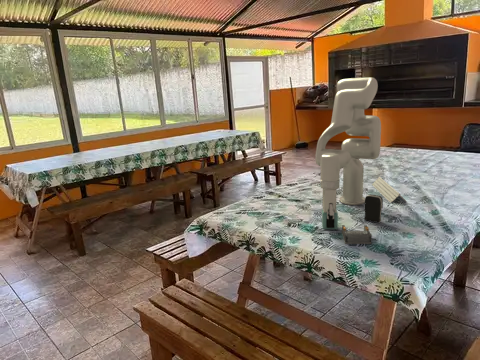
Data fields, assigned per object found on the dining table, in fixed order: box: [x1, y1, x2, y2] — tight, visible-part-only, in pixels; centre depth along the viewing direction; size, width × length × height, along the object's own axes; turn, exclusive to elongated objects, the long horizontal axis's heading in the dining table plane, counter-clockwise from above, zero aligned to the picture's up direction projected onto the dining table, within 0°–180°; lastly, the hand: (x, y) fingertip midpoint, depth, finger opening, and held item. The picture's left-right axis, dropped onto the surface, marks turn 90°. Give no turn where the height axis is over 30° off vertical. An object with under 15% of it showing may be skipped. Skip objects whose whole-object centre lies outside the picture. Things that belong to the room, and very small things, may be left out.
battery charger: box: [363, 193, 384, 223], centre depth 151 cm, size 7×4×11 cm, turn 49°
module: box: [321, 208, 339, 230], centre depth 148 cm, size 4×6×7 cm
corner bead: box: [371, 176, 408, 203], centre depth 186 cm, size 31×9×5 cm, turn 176°
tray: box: [341, 224, 373, 245], centre depth 137 cm, size 10×10×4 cm
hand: (329, 224), depth 149 cm, fingers open, 4 cm apart
